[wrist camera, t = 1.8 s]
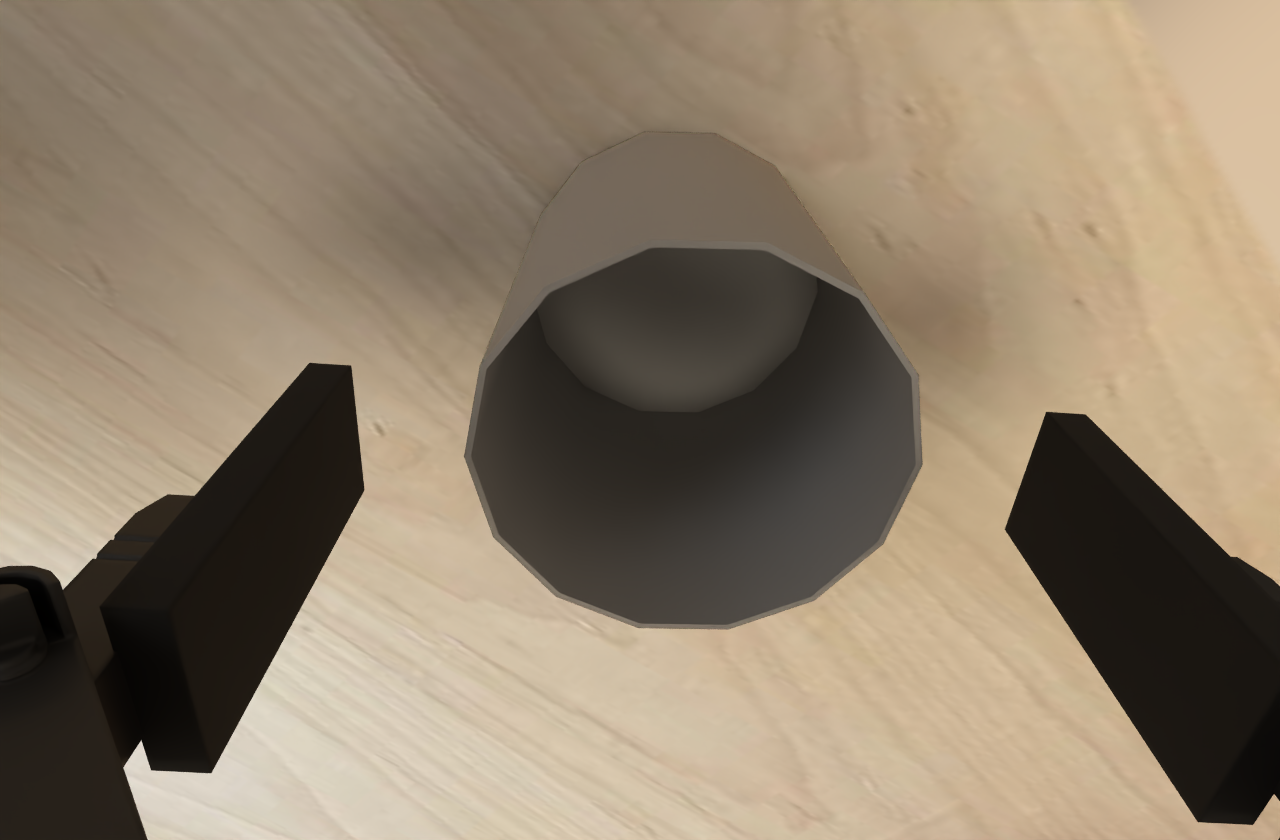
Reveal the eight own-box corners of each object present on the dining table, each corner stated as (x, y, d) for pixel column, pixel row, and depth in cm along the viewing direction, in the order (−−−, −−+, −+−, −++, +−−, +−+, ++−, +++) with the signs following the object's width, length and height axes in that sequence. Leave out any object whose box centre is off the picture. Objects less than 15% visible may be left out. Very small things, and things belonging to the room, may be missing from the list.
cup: (837, 136, 22) (970, 246, 13) (800, 407, 26) (885, 631, 17) (521, 128, 22) (443, 235, 13) (534, 402, 26) (480, 625, 17)
